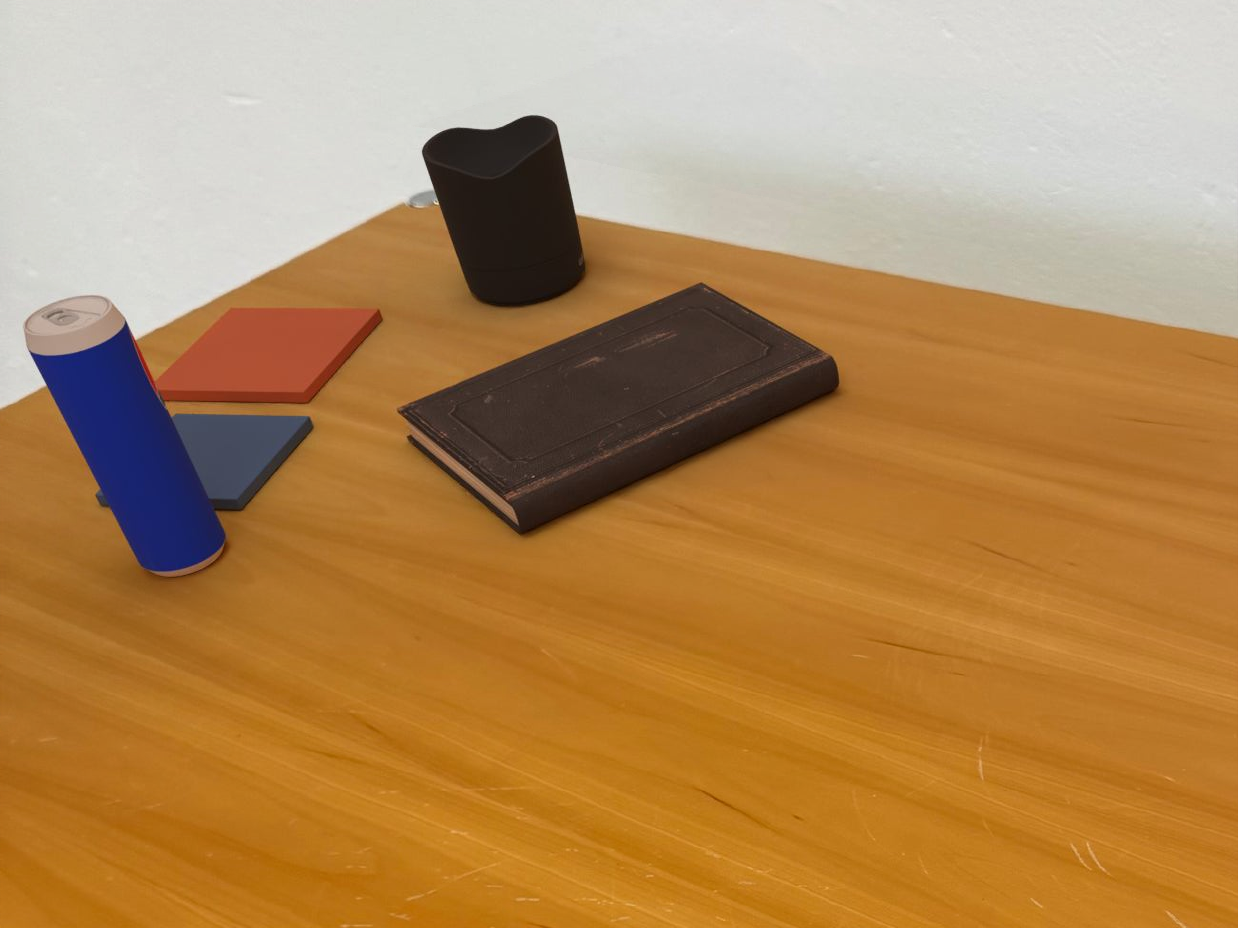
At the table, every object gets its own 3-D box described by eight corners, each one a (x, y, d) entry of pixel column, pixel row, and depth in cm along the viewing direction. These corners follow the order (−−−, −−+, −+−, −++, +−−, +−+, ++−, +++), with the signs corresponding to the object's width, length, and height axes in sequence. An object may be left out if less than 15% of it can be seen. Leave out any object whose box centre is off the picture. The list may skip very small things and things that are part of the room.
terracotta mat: (150, 400, 111) (145, 389, 111) (235, 318, 119) (230, 307, 119) (307, 403, 109) (303, 392, 108) (382, 318, 117) (379, 308, 116)
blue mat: (99, 505, 102) (93, 494, 101) (180, 423, 109) (175, 413, 108) (241, 510, 100) (236, 499, 99) (314, 426, 106) (309, 415, 106)
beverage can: (247, 543, 97) (137, 301, 86) (180, 589, 94) (57, 345, 83) (192, 524, 99) (77, 285, 88) (124, 568, 96) (-3, 327, 86)
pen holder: (536, 319, 114) (496, 174, 107) (438, 298, 118) (393, 157, 111) (617, 263, 120) (584, 121, 113) (521, 245, 124) (483, 107, 116)
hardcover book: (408, 440, 104) (396, 407, 102) (708, 313, 112) (701, 281, 111) (523, 538, 95) (513, 503, 93) (841, 391, 103) (836, 357, 101)
